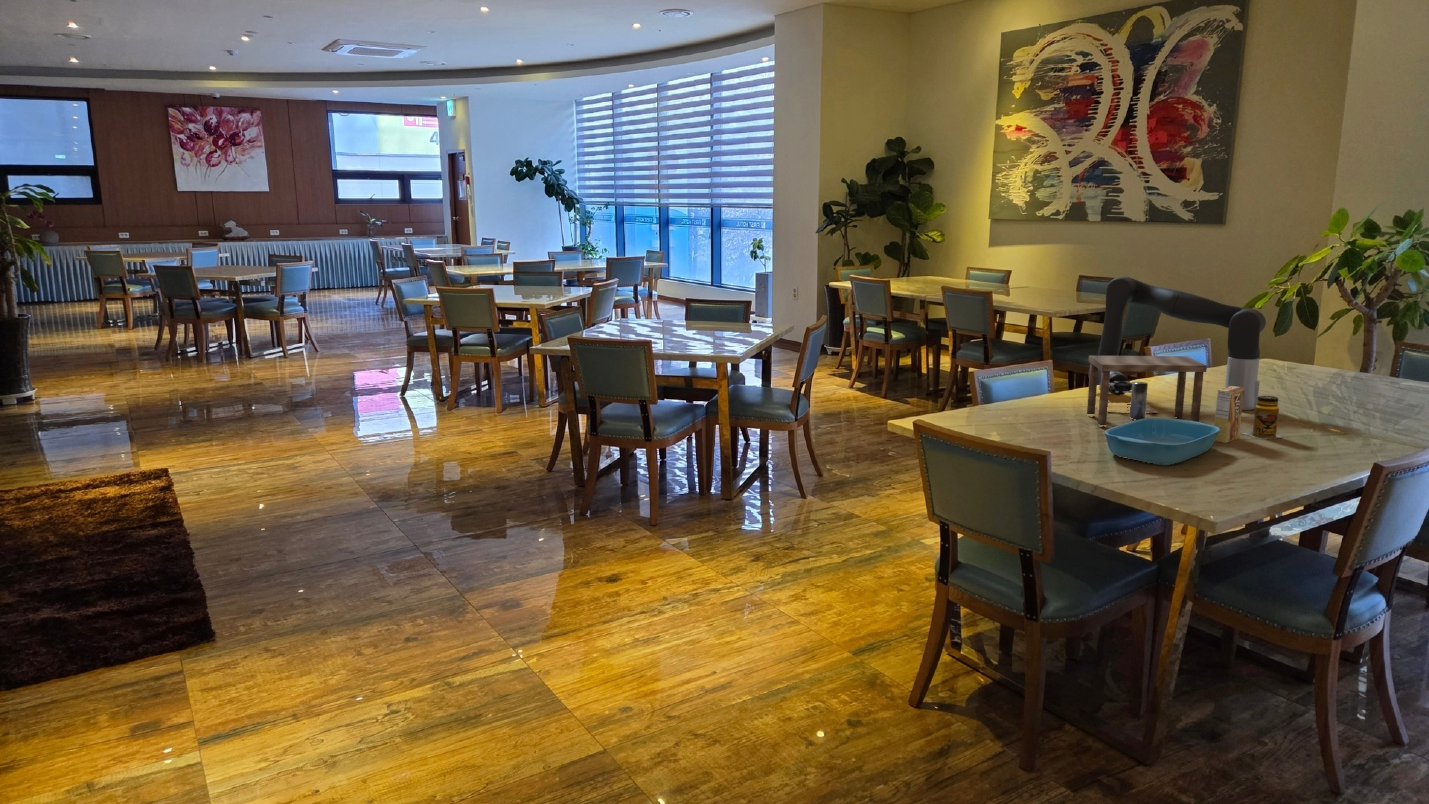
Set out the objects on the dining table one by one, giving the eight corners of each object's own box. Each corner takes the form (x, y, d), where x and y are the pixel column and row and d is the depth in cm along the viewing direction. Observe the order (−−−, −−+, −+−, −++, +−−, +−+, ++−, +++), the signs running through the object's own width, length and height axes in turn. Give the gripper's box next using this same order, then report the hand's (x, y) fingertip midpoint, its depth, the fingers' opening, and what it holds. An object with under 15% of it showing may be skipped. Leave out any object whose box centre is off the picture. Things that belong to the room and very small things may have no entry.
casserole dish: (1150, 435, 277) (1152, 412, 275) (1229, 448, 260) (1231, 424, 259) (1089, 458, 253) (1091, 433, 252) (1172, 474, 237) (1174, 447, 235)
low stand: (1181, 416, 299) (1186, 356, 295) (1200, 429, 281) (1206, 365, 277) (1084, 415, 304) (1088, 355, 299) (1098, 427, 286) (1102, 364, 282)
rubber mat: (1144, 403, 319) (1144, 402, 319) (1158, 413, 304) (1158, 412, 303) (1089, 403, 322) (1090, 401, 322) (1101, 412, 306) (1101, 411, 306)
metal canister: (1142, 418, 298) (1145, 381, 296) (1146, 421, 294) (1149, 384, 291) (1127, 417, 299) (1130, 381, 296) (1131, 420, 295) (1134, 384, 292)
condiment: (1264, 440, 268) (1268, 400, 266) (1240, 433, 276) (1244, 394, 274) (1283, 437, 270) (1288, 398, 268) (1259, 431, 278) (1263, 392, 276)
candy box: (1224, 435, 274) (1229, 385, 270) (1240, 438, 270) (1245, 387, 267) (1212, 440, 268) (1216, 389, 265) (1227, 443, 265) (1232, 391, 262)
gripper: (1095, 371, 323) (1106, 380, 307) (1137, 372, 320) (1151, 381, 305) (1093, 392, 324) (1104, 402, 309) (1136, 393, 322) (1149, 403, 306)
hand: (1128, 391), depth 307 cm, fingers open, 8 cm apart
